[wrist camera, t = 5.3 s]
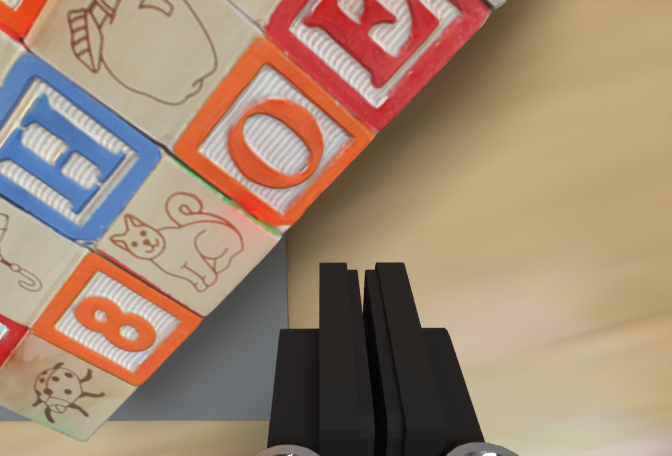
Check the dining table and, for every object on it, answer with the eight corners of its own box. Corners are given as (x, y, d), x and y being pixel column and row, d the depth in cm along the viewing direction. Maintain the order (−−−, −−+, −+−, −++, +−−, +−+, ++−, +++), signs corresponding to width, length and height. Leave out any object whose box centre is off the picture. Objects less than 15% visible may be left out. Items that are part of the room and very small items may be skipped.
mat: (266, -322, 12) (263, -334, 11) (291, 409, 23) (290, 419, 23) (-361, -343, 11) (-394, -356, 11) (-19, 409, 23) (-27, 420, 23)
